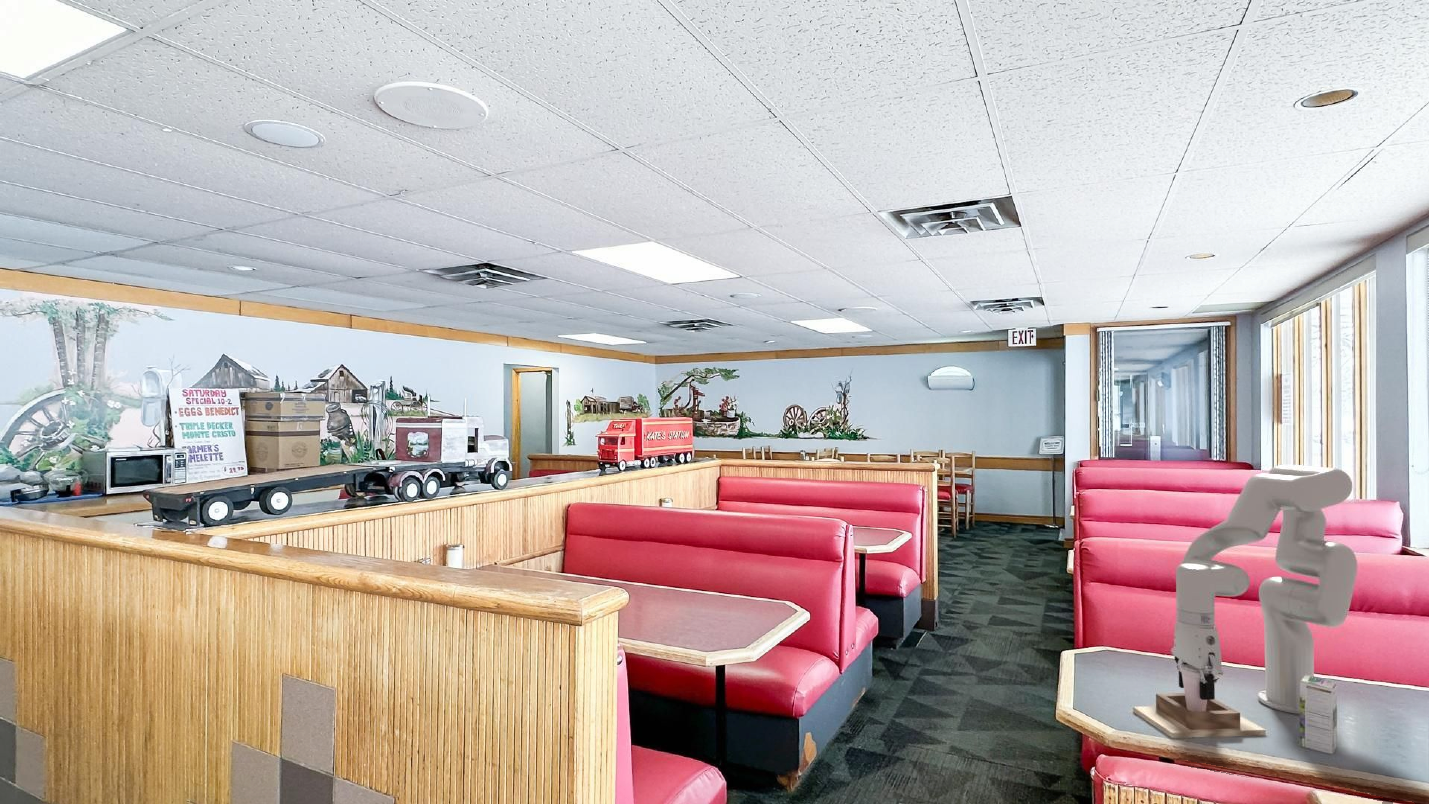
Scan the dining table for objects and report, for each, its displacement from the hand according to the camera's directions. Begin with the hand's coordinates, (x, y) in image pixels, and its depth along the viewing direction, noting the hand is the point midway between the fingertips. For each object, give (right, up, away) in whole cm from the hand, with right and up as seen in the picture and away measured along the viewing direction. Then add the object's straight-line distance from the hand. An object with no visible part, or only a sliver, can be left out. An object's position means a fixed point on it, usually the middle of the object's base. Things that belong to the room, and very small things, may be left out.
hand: (1196, 692), depth 169 cm
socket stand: (0, -7, 0) cm, 7 cm away
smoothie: (0, -4, 0) cm, 4 cm away
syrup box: (+19, -7, -12) cm, 23 cm away
